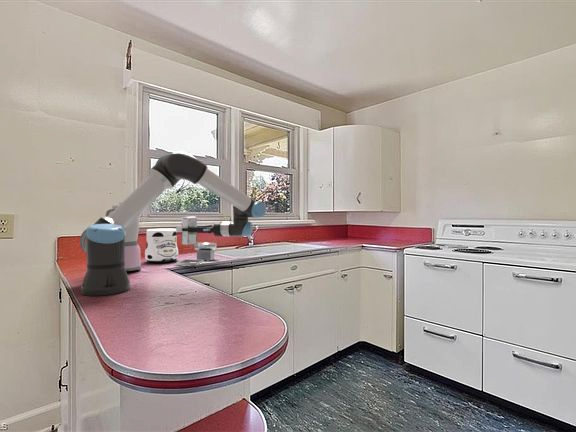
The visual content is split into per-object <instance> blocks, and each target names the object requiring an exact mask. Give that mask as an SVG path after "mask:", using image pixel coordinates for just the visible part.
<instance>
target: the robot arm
mask: <svg viewBox="0 0 576 432" xmlns="http://www.w3.org/2000/svg"><path fill="white" fill-rule="evenodd" d="M180 180H185V181H188V182H190V183H192V184H193V185H196V184H198V185H199V186H201V187H203V188H205V189H206V190H208V191H209V192H211V193H213V194H214V195H215V196H217V197H219V198H220V199H222V200H223V201H225V202H227V203H228V204H230V205H232V217H233V221H215V222H214V223H213V224H210V225H197V227H189V226H188V227H182V226H176V227H175V229H176V233H182V232H188V233H190V232H197V233H203V234H205V233H207V234H212V233H213V236H214V237H227V238H229V237H251V236H252V234H253V231H254V230H253V229H254V228H253V223H252V222H251V221H249V218H254V219H255V218H256V219H257V218H262V217H264V216H265V214H266V212H267V208H266V205H265V203H264V202H262V201H256V200H255V199H253V198H251V197H250V196H248V195H247V194H245V193H244V192H242V191H241V190H239V189H238V188H236V187H235V186H233V185H232V184H231V183H229V182H228V181H226V180H225V179H224V178H222V177H220V176H219V175H217V174H216V173H215V172H213V171H211V170H210V169H209V168H208V165H207V164H205V163H204V162H203V161H201V160H200V159H198V158H196V157H195V156H194V155H191V154H190V153H188V152H186V151H182V150H180V151H179V150H177V151H174V152H172V153H171V152H170V153H169V154H165V155H162V156H160V157H159V158H158V159H157V161H156V163H155V164H154V166H152V167H151V168H150V170H149V175H148V176H147V178H145V179H144V180H143V181H142V182H141V183H140V184H139V185H138V186H137V187H136V188H135V189H134V190H133V191H132V192H131V193H130V194H129V195H128V196H127V197H126V198H125V199H124V200H123V201H122V202H120V203H121V204H120V205H119V204H118V205H117V206H118V207H117V208H116V209H115V210H114V211H113V212H112V213H111V214H110V215H109V216H107V217H106V216H101V217H100V218H99V219H97V220H96V221H95V222H94V224H91V225H89V226H87V228H86V229H84V230H83V232H82V233H81V234H80V237H79V246H80V248H81V249H82V251H83V252H84V253H86V273H85V275H84V278H83V281H82V284H81V287H80V293H81V295H83V296H92V297H95V296H96V297H97V296H108V295H115V294H119V293H124V292H126V291H129V290H130V289H131V281H130V279H129V276H128V273H127V271H126V270H125V262H124V261H125V255H124V238H125V236H126V230H127V229H128V228H129V227H130V226H131V225H132V224H133V223H134V221H135V220H136V219H137V218H138V217H139V218H140V216H142V214H144V212H146V211H147V209H148V208H149V207H150V206H151V205H152V204H153V203H154V202H155V201H156V200H157V199H158V198H159V197H160V196H161V195H162V194H163V192H165V191H166V190H171V189H173V188H174V187H175V186H176V185H177V183H179V181H180Z"/></svg>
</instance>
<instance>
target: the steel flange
mask: <svg viewBox="0 0 576 432" xmlns="http://www.w3.org/2000/svg"><path fill="white" fill-rule="evenodd" d="M190 262H196V263H190ZM202 262H205V261H204V260H197V259H182V260H180V261H177V262H175V265H191V266H190V267H199V266H201V265H200V263H202Z"/></svg>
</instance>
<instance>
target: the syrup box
mask: <svg viewBox="0 0 576 432" xmlns="http://www.w3.org/2000/svg"><path fill="white" fill-rule="evenodd" d="M188 226H189V227H197V226H198V217H197V216H181V227H188ZM197 243H198V232H190V233H188V232H181V245H187V246H189V245H191V246H192V245H194V244H197Z"/></svg>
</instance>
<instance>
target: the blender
mask: <svg viewBox="0 0 576 432" xmlns="http://www.w3.org/2000/svg"><path fill="white" fill-rule="evenodd" d="M121 203H122V202H119V204H118V205H112V207H111V208H110V209H108V210H107V211H106V212H105V217H107V216H109V215H110V214H111V213H112V212H113V211H114V210H115V209H116V208H117V207H118V206H119V205H120V204H121ZM139 230H140V216H139V217H138V218H137V219H136V220H135V221H134V223H133V224H132V225H131V226H130V227H129V228H128V229H127V230H126V236H125V238H124V255H125V261H124V262H125V270H126V272H130V271H137V270H138V271H140V272H141V270H142V268H141V266H142V265H141V247H140V245H139V243H138V237H139Z"/></svg>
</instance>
